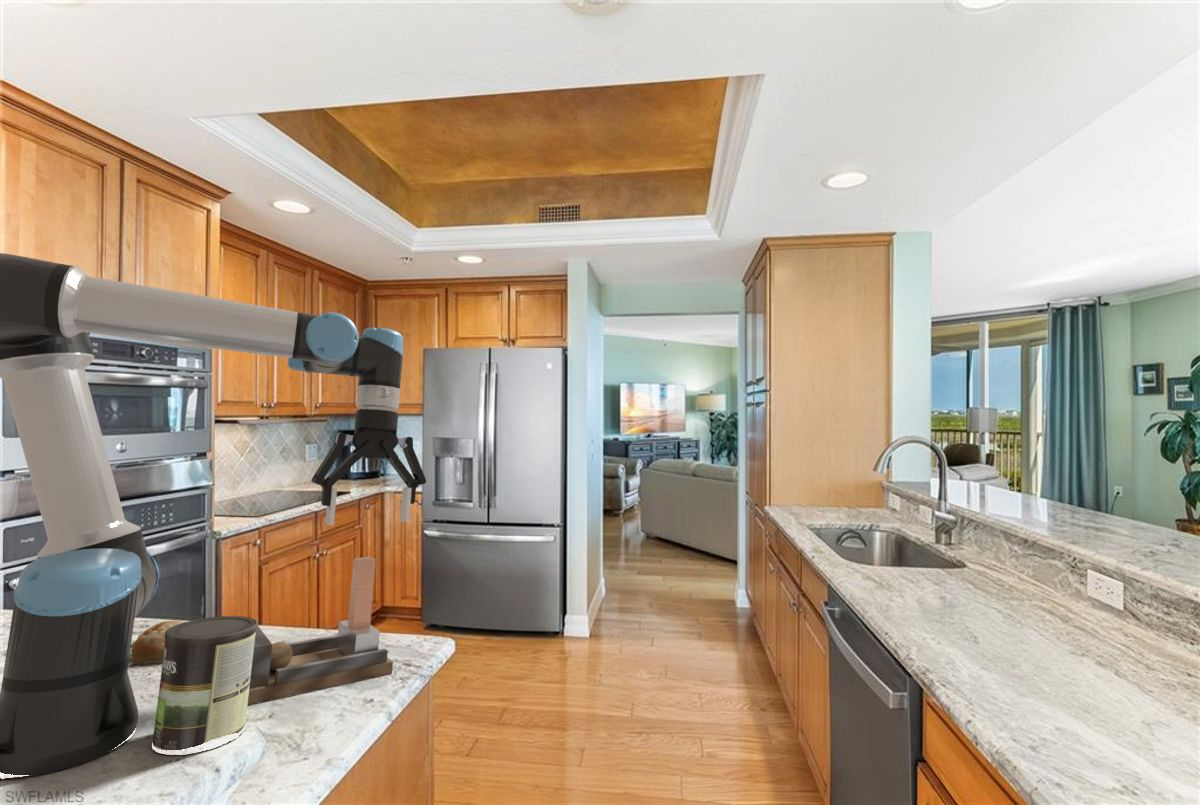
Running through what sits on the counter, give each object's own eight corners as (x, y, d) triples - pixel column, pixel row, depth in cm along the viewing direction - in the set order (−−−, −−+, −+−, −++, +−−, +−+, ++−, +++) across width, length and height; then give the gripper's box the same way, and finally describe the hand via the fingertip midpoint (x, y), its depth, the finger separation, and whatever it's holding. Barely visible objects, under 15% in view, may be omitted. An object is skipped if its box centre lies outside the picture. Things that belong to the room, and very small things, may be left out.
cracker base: (245, 705, 81) (251, 649, 82) (231, 676, 92) (236, 627, 93) (391, 673, 96) (395, 626, 97) (365, 651, 106) (368, 608, 107)
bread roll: (147, 689, 94) (169, 648, 94) (109, 657, 97) (130, 616, 97) (200, 669, 104) (219, 631, 104) (163, 640, 106) (182, 603, 106)
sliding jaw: (353, 663, 94) (362, 563, 96) (336, 647, 101) (345, 555, 103) (377, 658, 96) (385, 561, 98) (359, 643, 104) (366, 553, 106)
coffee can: (151, 766, 65) (166, 643, 67) (150, 731, 73) (164, 622, 75) (252, 740, 72) (263, 629, 73) (241, 712, 79) (252, 612, 81)
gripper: (311, 402, 93) (299, 528, 90) (447, 414, 109) (440, 521, 107) (300, 404, 99) (288, 523, 96) (431, 416, 115) (424, 518, 112)
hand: (368, 523), depth 101 cm, fingers open, 13 cm apart
